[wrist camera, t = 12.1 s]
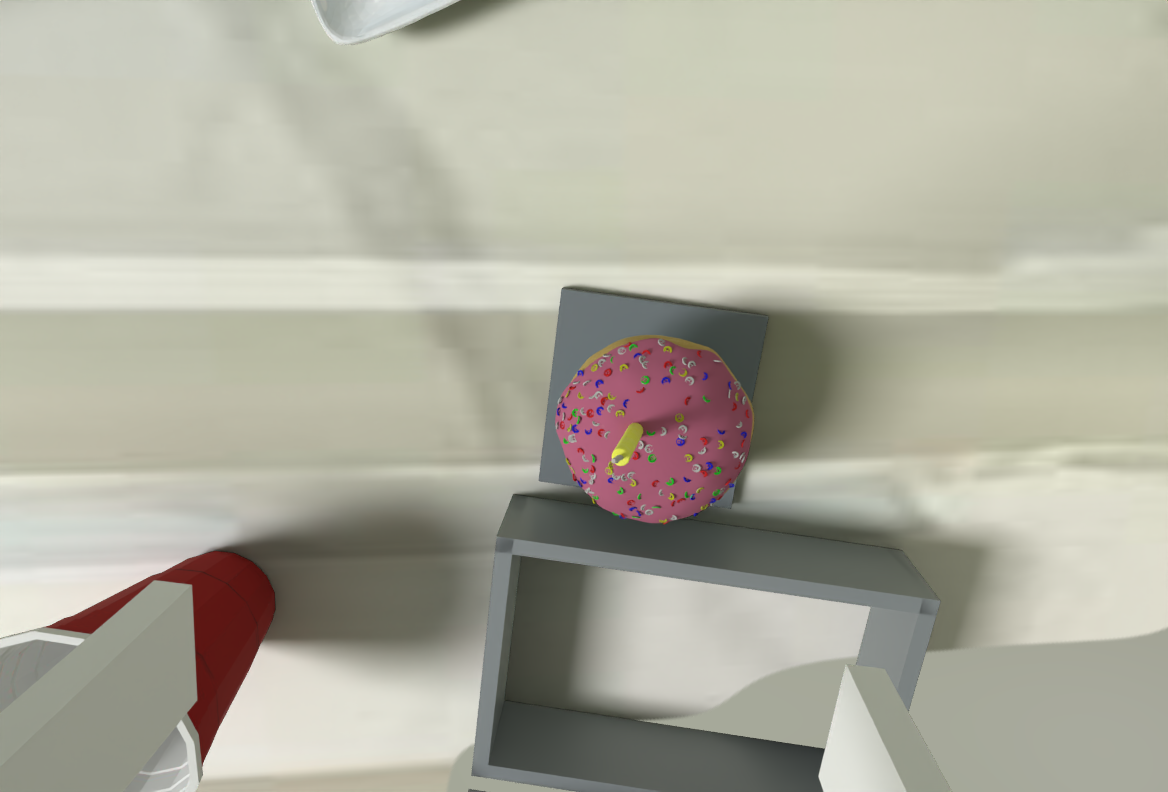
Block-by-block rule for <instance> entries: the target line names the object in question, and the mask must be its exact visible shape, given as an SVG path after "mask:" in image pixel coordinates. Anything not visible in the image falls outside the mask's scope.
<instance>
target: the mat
mask: <svg viewBox="0 0 1168 792" xmlns="http://www.w3.org/2000/svg"><path fill="white" fill-rule="evenodd" d="M768 318H769V317H768V316H766V315H759V314H752V313H745V312H738V311H730V310H723V309H716V308H708V307H701V306H694V305H686V304H679V303H672V302H664V301H657V300H650V299H642V298H635V297H628V296H620V295H613V294H606V293H599V292H591V291H584V290H577V289H569V288H562V290H561V298H560V307H559V315H558V323H557V332H556V340H555V348H554V357H553V365H552V373H551V382H550V390H549V398H548V407H547V415H546V423H545V432H544V440H543V448H542V457H541V465H540V473H539V481H541V482H548V483H555V484H562V485H569V486H576V487H580V486H579V484H578V483H577V482H576V481H574V480H573V475H572V473H571V471H570V468H569V466H568V463H567V462H566V457H565V454H564V451H563V448H562V445H561V442H560V439H559V437H558V434H557V432H556V426H555V418H556V411H557V406H558V400H559V398H560V397H561V395H562V393H563V391H564V390H565V389H566V387H567V386H568V385H569V384H570V383H571V381H572V379H573V377H574V376H575V374H576V373H577V372H578V370H579V369H580V368H581V366H582V365H583V364H584V363H585V361H586V360H587V359H588V358H589V357H591V356H592V355H593V354H595V353H597V352H598V351H600V350H602V349H603V348H605V347H607V346H608V345H610V344H612V343H614V342H616V341H618V340H621V339H624V338H628V337H633V336H640V335H661V336H668V337H674V338H679V339H683V340H687V341H690V342H693V343H696V344H700V345H703V346H706V347H709V348H711V349H713V350H714V351H715V352H716V353H717V354H718V355H719V356H720V357H721V358H722V360H723V361H724V362H725V364H726V365H727V366H728V368H729V369H730V371H731V372H732V373H733V375H734V376H735V378H736V379H737V381H738V382H740V384H741V387H742V388H743V390H744V391H745V393H746V394H747V396H748V398H749V400H750V402H751V404H752V399H753V394H754V389H755V384H756V379H757V374H758V369H759V364H760V359H761V353H762V348H763V343H764V338H765V333H766V328H767V323H768ZM736 480H737V479H736ZM736 480H735V482H734V483H733V484H734V485H736ZM734 490H735V486H734V487H732V488H730V489H729V490H728V491H727V492H726V493H725V494H724V495H723V497H722V498H721V499H720V500H716V501H715V503H714V505H713V506H716V507H722V508H729V509H731V505H732V500H733V495H734Z"/></svg>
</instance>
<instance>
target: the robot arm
mask: <svg viewBox="0 0 1168 792" xmlns="http://www.w3.org/2000/svg"><path fill="white" fill-rule="evenodd" d="M196 701H197V683H196V661H195V639H194V617H193V595H192V585H190V584H182V583H173V582H165V581H157V580H154V581H153V582H152V583H150V584H149V585H148V586H147V587H146V588H145V589H143V590H142V591H141V592H140V593H139V594H138V595H136V596H135V597H134V598H133V599H132V600H131V601H129V602H128V603H127V604H126V605H125V606H124V607H123V608H121V609H120V610H119V611H118V612H117V613H116V614H114V615H113V616H112V617H111V618H110V619H109V620H107V621H106V622H105V623H104V624H103V625H102V626H100V627H99V628H98V629H97V630H96V631H95V632H94V633H92V634H91V635H90V636H89V637H88V638H87V639H85V640H84V641H83V642H82V643H81V644H80V645H78V646H77V647H76V648H75V649H74V650H73V651H71V652H70V653H69V654H68V655H67V656H66V657H65V658H63V659H62V660H61V661H60V662H59V663H58V664H56V665H55V666H54V667H53V668H52V669H51V670H49V671H48V672H47V673H46V674H45V675H44V676H42V677H41V678H40V679H39V680H38V681H37V682H36V683H34V684H33V685H32V686H31V687H30V688H29V689H27V690H26V691H25V692H24V693H23V694H22V695H20V696H19V697H18V698H17V699H16V700H15V701H13V702H12V703H11V704H10V705H9V706H8V707H7V708H5V709H4V710H3V711H2V712H1V713H0V792H123V791H124V790H125V789H126V788H127V786H128V785H129V784H130V783H131V781H132V780H133V779H134V778H135V777H136V775H137V774H138V773H139V772H140V770H141V769H142V768H143V767H144V765H145V764H146V763H147V762H148V760H149V759H150V758H151V757H152V756H153V754H154V753H155V752H156V751H157V749H158V748H159V747H160V746H161V744H162V743H163V742H164V741H165V739H166V738H167V737H168V736H169V735H170V733H171V732H172V731H173V730H174V728H175V727H176V726H177V725H178V723H179V722H180V721H181V720H182V718H183V717H184V716H185V715H186V713H187V712H188V711H189V710H190V709H191V707H192V706H193V705H194V704H195V702H196ZM818 777H819V780H820V783H821V786H822V789H823V792H952V791H951V789H950V787H949V785H948V783H947V781H946V780H945V778H944V776H943V774H942V772H941V771H940V769H939V767H938V765H937V763H936V761H935V760H934V758H933V756H932V754H931V752H930V751H929V749H928V747H927V745H926V743H925V742H924V740H923V738H922V736H921V734H920V732H919V731H918V729H917V727H916V725H915V723H914V722H913V720H912V718H911V716H910V714H909V712H908V710H907V709H906V707H905V705H904V703H903V701H902V700H901V698H900V696H899V694H898V692H897V690H896V689H895V687H894V685H893V683H892V681H891V680H890V678H889V676H888V674H887V672H886V670H885V669H883V668H874V667H866V666H858V665H849V664H846V666H845V670H844V675H843V679H842V683H841V687H840V691H839V695H838V699H837V703H836V707H835V711H834V715H833V719H832V723H831V727H830V731H829V735H828V739H827V743H826V748H825V751H824V755H823V759H822V764H821V768H820V772H819V776H818Z"/></svg>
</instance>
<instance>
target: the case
mask: <svg viewBox="0 0 1168 792" xmlns="http://www.w3.org/2000/svg"><path fill="white" fill-rule="evenodd" d="M621 517H622V516H621ZM521 556H527V557H534V558H541V559H547V560H554V561H561V562H568V563H575V564H582V565H589V566H596V567H602V568H609V569H616V570H623V571H630V572H637V573H644V574H650V575H657V576H664V577H671V578H678V579H685V580H692V581H698V582H705V583H712V584H719V585H726V586H733V587H740V588H747V589H753V590H760V591H767V592H774V593H781V594H788V595H795V596H801V597H808V598H815V599H822V600H829V601H836V602H843V603H849V604H856V605H863V606H870V607H871V609H870V613H869V617H868V621H867V624H866V628H865V632H864V636H863V640H862V643H861V647H860V651H859V655H858V659H857V663H856V665H858V666H866V667H874V668H883V669H885V670H886V672H887V674H888V676H889V678H890V680H891V681H892V683H893V685H894V687H895V689H896V690H897V692H898V694H899V696H900V698H901V700H902V701H903V703H904V705H905V707H906V709H907V710H908V711H909V708H910V704H911V701H912V697H913V694H914V691H915V687H916V683H917V680H918V677H919V674H920V670H921V666H922V663H923V660H924V656H925V653H926V650H927V646H928V643H929V639H930V636H931V632H932V629H933V626H934V622H935V619H936V615H937V612H938V608H939V605H940V602H941V601H940V599H939V598H938V597H937V595H936V594H935V593H934V591H933V590H932V589H931V588H930V586H929V585H928V584H927V582H926V581H925V580H924V578H923V577H922V576H921V574H920V573H919V572H918V571H917V569H916V568H915V567H914V565H913V564H912V563H911V561H910V560H909V559H908V558H907V556H906V555H905V554H904V552H903V551H902V550H897V549H890V548H883V547H876V546H869V545H862V544H855V543H848V542H841V541H834V540H827V539H820V538H813V537H806V536H799V535H792V534H785V533H778V532H771V531H764V530H757V529H750V528H744V527H737V526H730V525H723V524H716V523H709V522H702V521H695V520H688V519H677V520H673V521H670V522H668V523H666V524H663V523H647V522H642V521H638V520H633V519H629V518H626V519H621V518H620V517H619V515H618V516H615V515H613V514H612V512H610V511H607V510H605V509H603V508H602V507H597V506H590V505H583V504H577V503H570V502H563V501H556V500H549V499H542V498H535V497H528V496H521V495H514V494H513V496H512V499H511V501H510V504H509V506H508V509H507V511H506V514H505V517H504V519H503V522H502V524H501V527H500V529H499V532H498V534H497V539H496V548H495V558H494V567H493V577H492V586H491V595H490V605H489V614H488V624H487V633H486V643H485V652H484V662H483V671H482V680H481V690H480V699H479V709H478V718H477V728H476V737H475V747H474V756H473V766H472V776H478V777H485V778H491V779H497V780H504V781H511V782H517V783H523V784H530V785H537V786H543V787H550V788H556V789H563V790H569V791H576V792H823V789H822V786H821V783H820V780H819V777H818V776H819V772H820V768H821V764H822V759H823V755H824V751H825V749H823V748H815V747H809V746H802V745H795V744H789V743H782V742H776V741H769V740H763V739H756V738H750V737H743V736H736V735H730V734H723V733H717V732H710V731H703V730H696V729H690V728H683V727H677V726H670V725H663V724H657V723H650V722H643V721H637V720H630V719H624V718H617V717H610V716H604V715H597V714H590V713H584V712H577V711H570V710H564V709H557V708H550V707H544V706H537V705H531V704H524V703H517V702H511V701H504V699H505V690H506V682H507V673H508V664H509V656H510V647H511V639H512V630H513V622H514V613H515V604H516V596H517V587H518V579H519V570H520V562H521Z"/></svg>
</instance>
